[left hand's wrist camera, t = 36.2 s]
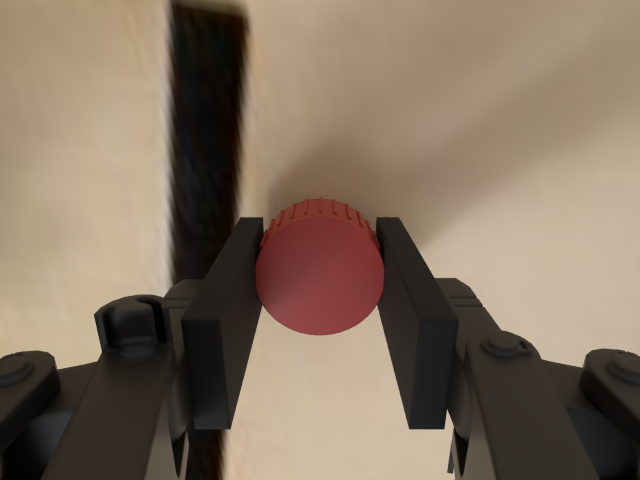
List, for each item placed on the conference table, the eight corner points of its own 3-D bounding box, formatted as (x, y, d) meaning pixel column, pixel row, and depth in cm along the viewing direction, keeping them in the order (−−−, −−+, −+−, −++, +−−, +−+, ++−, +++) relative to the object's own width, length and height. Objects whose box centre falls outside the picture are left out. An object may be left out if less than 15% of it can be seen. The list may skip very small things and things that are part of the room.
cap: (240, 269, 15) (228, 297, 13) (300, 173, 13) (297, 188, 11) (335, 323, 15) (338, 357, 13) (401, 237, 14) (414, 261, 12)
